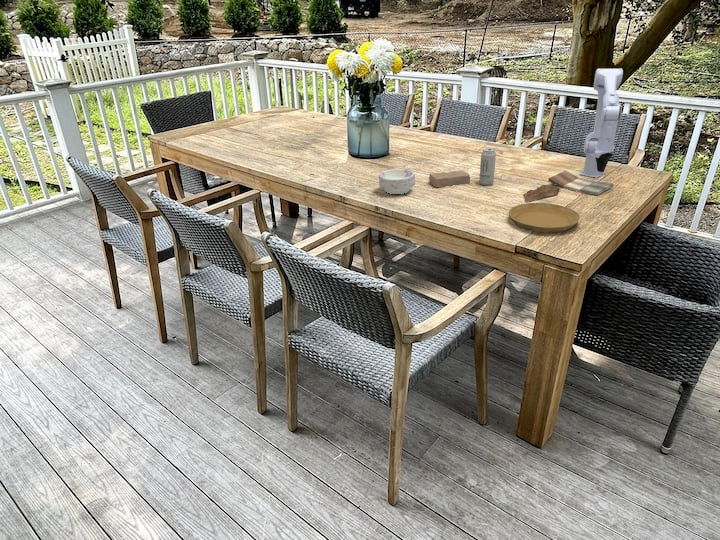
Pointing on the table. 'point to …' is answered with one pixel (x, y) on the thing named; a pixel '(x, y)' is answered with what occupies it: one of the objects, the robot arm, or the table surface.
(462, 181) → the brick
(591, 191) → the grey oak plank
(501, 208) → the table surface
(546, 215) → the plant saucer
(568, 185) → the ash board
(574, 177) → the walnut plank
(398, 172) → the paper bowls
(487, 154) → the energy drink can
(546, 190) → the fossil skeleton slab
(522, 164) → the table surface
